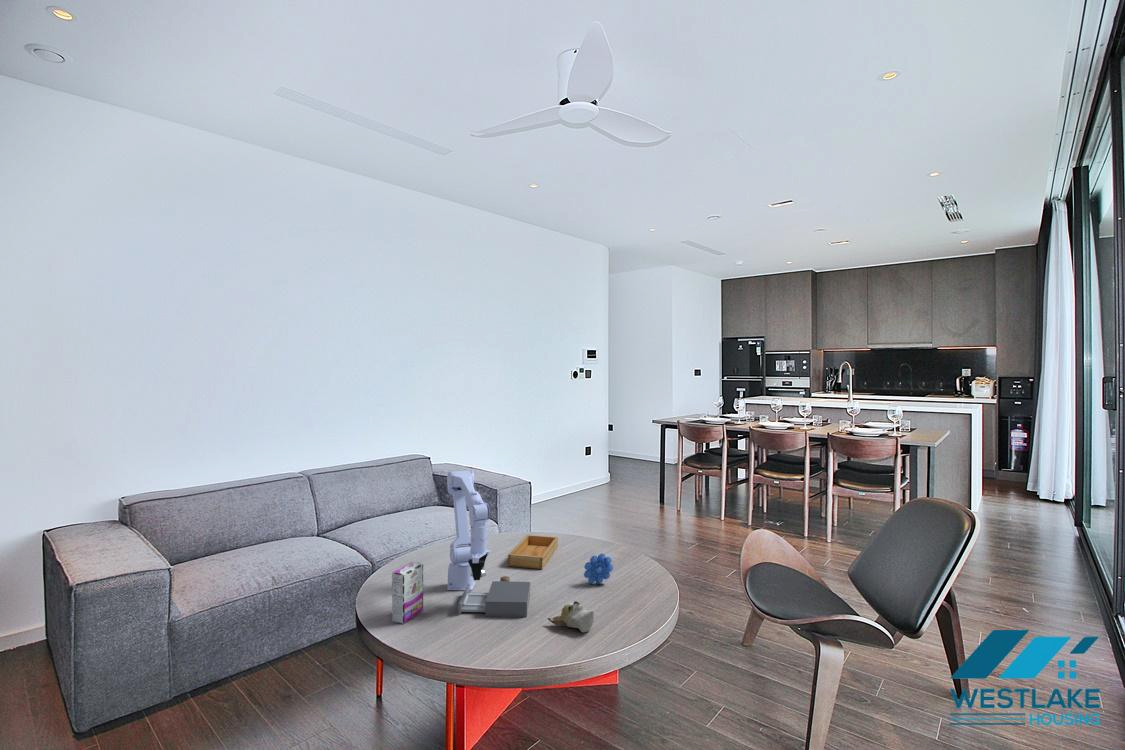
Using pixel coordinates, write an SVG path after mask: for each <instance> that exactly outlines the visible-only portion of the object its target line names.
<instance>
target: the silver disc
mask: <svg viewBox="0 0 1125 750" xmlns="http://www.w3.org/2000/svg"><path fill="white" fill-rule="evenodd" d="M486 575H487V568H486V567H485V566H484V567H482V572H481V577H480V578H483V577H485V576H486ZM471 576H472V577H473V574H472V570H471Z"/></svg>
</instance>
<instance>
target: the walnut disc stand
mask: <svg viewBox="0 0 1125 750" xmlns="http://www.w3.org/2000/svg"><path fill="white" fill-rule="evenodd" d="M499 579H500V580H499V581H509V582H511V578H510V577H509V576H507V575H504V576H501V577H500V578H499Z"/></svg>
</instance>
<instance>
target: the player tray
mask: <svg viewBox="0 0 1125 750" xmlns="http://www.w3.org/2000/svg"><path fill="white" fill-rule="evenodd" d="M470 591H471V590H470V584H467V586H466V588H465V590H463V593H462V595H461V597H460V600H459V602H458V611H457V612H458V614H462V612H463V613H465V612H466V613H485V605H486V599H487V596H488V593H489V592H470Z"/></svg>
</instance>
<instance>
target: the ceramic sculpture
mask: <svg viewBox="0 0 1125 750" xmlns="http://www.w3.org/2000/svg"><path fill="white" fill-rule="evenodd" d="M594 613H595V611H594V610H592V609H590V610H586V609H585V608H584V607H583V605H582V603H580V602H578V601H576V600H575V601H574V602H569V603H567V604H565V605H564V606H563V607H562V609H561V613H560V615H559V616H557V615H556V616H554V617H548V618H547V620H548V621H549V622H550V623H552V624H554V625H555V626H557V627H564V626H566V627H568V628H572V629H578V630H579V631H580V632H581V633H587V632H589V631H590V630H591V628H592V626H593V623H594V621H595V614H594Z"/></svg>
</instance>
